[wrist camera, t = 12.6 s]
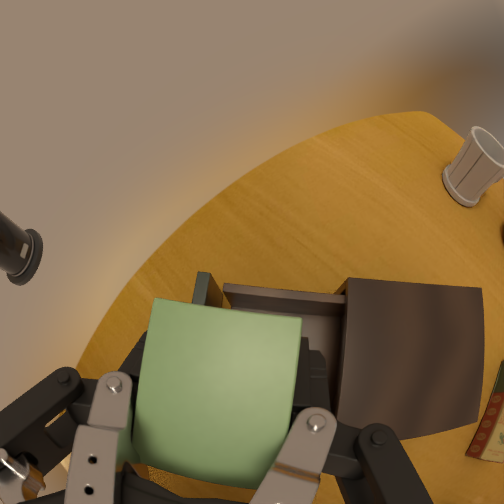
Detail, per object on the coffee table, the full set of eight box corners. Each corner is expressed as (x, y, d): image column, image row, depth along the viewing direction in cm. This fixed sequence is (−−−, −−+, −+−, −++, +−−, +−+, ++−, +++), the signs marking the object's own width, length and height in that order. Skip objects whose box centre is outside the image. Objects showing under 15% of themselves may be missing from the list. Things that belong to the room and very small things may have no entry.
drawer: (159, 396, 26) (128, 404, 19) (178, 288, 32) (154, 265, 24) (334, 420, 25) (356, 436, 17) (345, 306, 30) (368, 288, 23)
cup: (457, 161, 40) (484, 121, 29) (485, 196, 36) (517, 160, 25) (433, 176, 38) (463, 130, 27) (464, 216, 35) (503, 176, 24)
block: (197, 416, 14) (130, 459, 6) (209, 332, 16) (153, 296, 8) (270, 427, 14) (276, 492, 5) (282, 342, 16) (303, 317, 7)
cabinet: (312, 423, 25) (331, 446, 17) (325, 302, 31) (348, 277, 22) (431, 414, 24) (477, 421, 15) (437, 308, 30) (481, 287, 21)
